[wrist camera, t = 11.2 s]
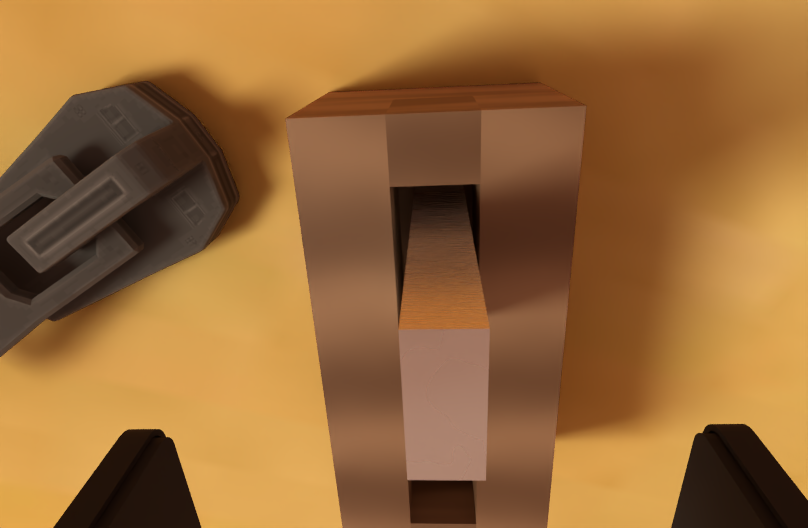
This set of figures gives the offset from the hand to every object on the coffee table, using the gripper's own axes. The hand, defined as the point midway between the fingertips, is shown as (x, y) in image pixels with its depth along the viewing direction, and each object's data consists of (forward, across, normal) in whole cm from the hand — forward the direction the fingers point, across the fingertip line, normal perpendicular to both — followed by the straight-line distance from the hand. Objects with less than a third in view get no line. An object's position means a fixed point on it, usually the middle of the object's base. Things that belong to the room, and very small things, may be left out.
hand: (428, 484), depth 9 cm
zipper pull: (+19, +22, +3) cm, 29 cm away
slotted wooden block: (+19, 0, +6) cm, 20 cm away
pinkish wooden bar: (+15, 0, +1) cm, 15 cm away
